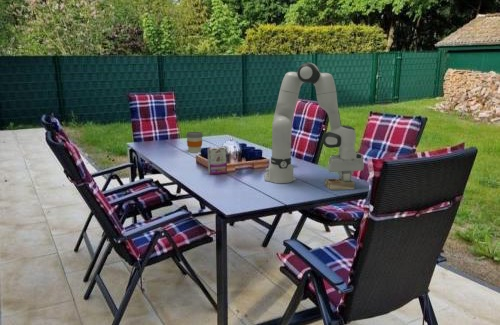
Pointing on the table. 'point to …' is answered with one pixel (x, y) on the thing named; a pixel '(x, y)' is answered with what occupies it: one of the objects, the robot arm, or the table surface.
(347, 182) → the socket block
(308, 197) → the table surface
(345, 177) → the plug
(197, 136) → the reusable coffee cup
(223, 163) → the candy bar box
